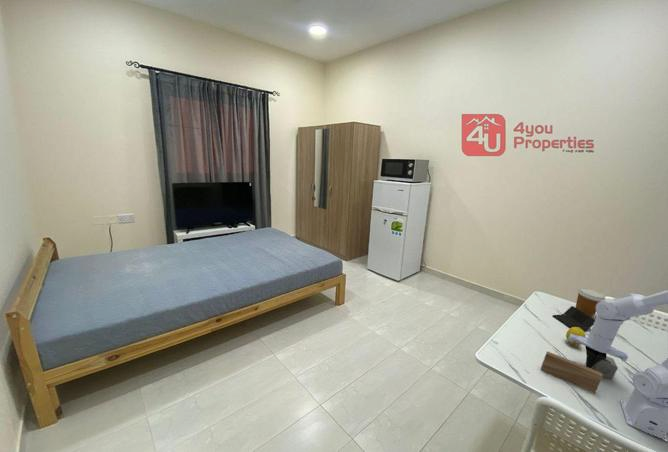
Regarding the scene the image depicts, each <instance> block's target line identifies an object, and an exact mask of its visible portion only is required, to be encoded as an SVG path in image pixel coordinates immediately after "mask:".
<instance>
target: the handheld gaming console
mask: <svg viewBox="0 0 668 452" xmlns="http://www.w3.org/2000/svg"><path fill="white" fill-rule="evenodd" d="M552 318H554V319H555V320H557V321H558V322H559V323H561V324H562V325H564V326H565V327H567V328H568V329H570V328H572V327H579V328H580V329H582V330H583V331H584V332H585V333H586V332H587V331H588V330H590V329H591V328H592V327H593V325H594V322H595V320H596V318H594V317H590V316H588V315H587V314H585V313H583V312H582V311H580V310H578V309H577V308H576V306H575V307H574V306H572V305H571V306H570V307H569V308H568V309H567V310H566V311H565V312H564V313H562V314H552Z"/></svg>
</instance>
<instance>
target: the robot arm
mask: <svg viewBox="0 0 668 452" xmlns="http://www.w3.org/2000/svg"><path fill="white" fill-rule="evenodd" d="M662 307H668V289H667V290H664V291H660V292H657V293H653V294H650V295H647V296H645V295H642V294H639V293H638V294H637V293H628V294H627V296H624V297H621V298H618V297H614V298H613V299H612V301H609V300H605V301H604V300H602V301H600V302H598V303H597V305H596V314H597V316H596V318H595V322H594V325H593V326H592V327H591V328H590V332H589V334H588V336H586V337H582V336H577V335H573V334H570V336H569V341H571V342H573V341H574V342H576V343H579V344H581V346H582V345H583V346H584V348H585V352H586V353H585V354H586V360H585V366H586V367H588V368H592V367H593V366H594V365H595V364H596V363H598V362H599V361H601V360H604V359H606V357H608V355H609V356H613V357H615V358H618V359H621V361H622V362H627V360H628V358H629V356H628V353H626V352H624V351H622V350H619V349H617V348H615V347H613V346H612V345H613V343H614V340H615V339H616V336H617V334H618V332H619V330H620V328H621V326H623V324H624V323H625V321H626V322H627V321H630V319H631V318H635V317H639V316H644V315H645V316H646V315H651V314H652V313H654V310H655V309H656V308H662ZM569 341H568V342H569ZM631 379H632V384H633V386H634V389H633V392H632V393H631V396H630V397H629V399H628V400H627V401H625V400H623V399H620V405H621V408H622V411H623V414H624V418H625V421H626V424H628V425H629V426H631V427H633V428H635V429H636V430H637V429H638V430H639V431H641V432H644V433H646V434H648V433H649V434H648V435H651V434H652V435H651V436H653V435H656V436H658V437H660V438H662V439H664V440H665V439H666V440H667V441H668V436H667V434H668V357H667V358H666V359H665V360H663V362H661V363H660V364H658V365H654V366H651V367H647V368H646V369H644V370H643V371H637V372H635V373H634V374H633V375H632V378H631ZM665 436H666V437H665ZM662 439H661V440H662ZM664 440H663V441H664Z"/></svg>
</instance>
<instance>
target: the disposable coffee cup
mask: <svg viewBox="0 0 668 452" xmlns="http://www.w3.org/2000/svg"><path fill="white" fill-rule="evenodd" d="M577 292H578V293H577V294H578V295H577V297H576V298H577V299H576V303H575V308H577V309H578V310H580V311H582V312H583V313H585V314H587V315H588V316H590V317H592V318H594V315H595V314H597V312H596V305H597V303H598V302H600V301H602V300H604V301H606V295H605V294H604V293H603V292H602V291H599V290H596V289H593V288H589V287H585V286H584V287H582V286H581V287H580V288H579V289H578V290H577Z"/></svg>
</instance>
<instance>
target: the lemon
mask: <svg viewBox="0 0 668 452" xmlns="http://www.w3.org/2000/svg"><path fill="white" fill-rule="evenodd" d="M570 334H573V335H577V336H582V337H587V336H586V332H584V331H583V330H582V329H580V328H579V327H572V328H568V330H567V331H566V334H565V337H566V340H567V341H568V342H569V344H571V346H582V344H579V343H576V342H574V341H573V342H571V341H569V336H570Z"/></svg>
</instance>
